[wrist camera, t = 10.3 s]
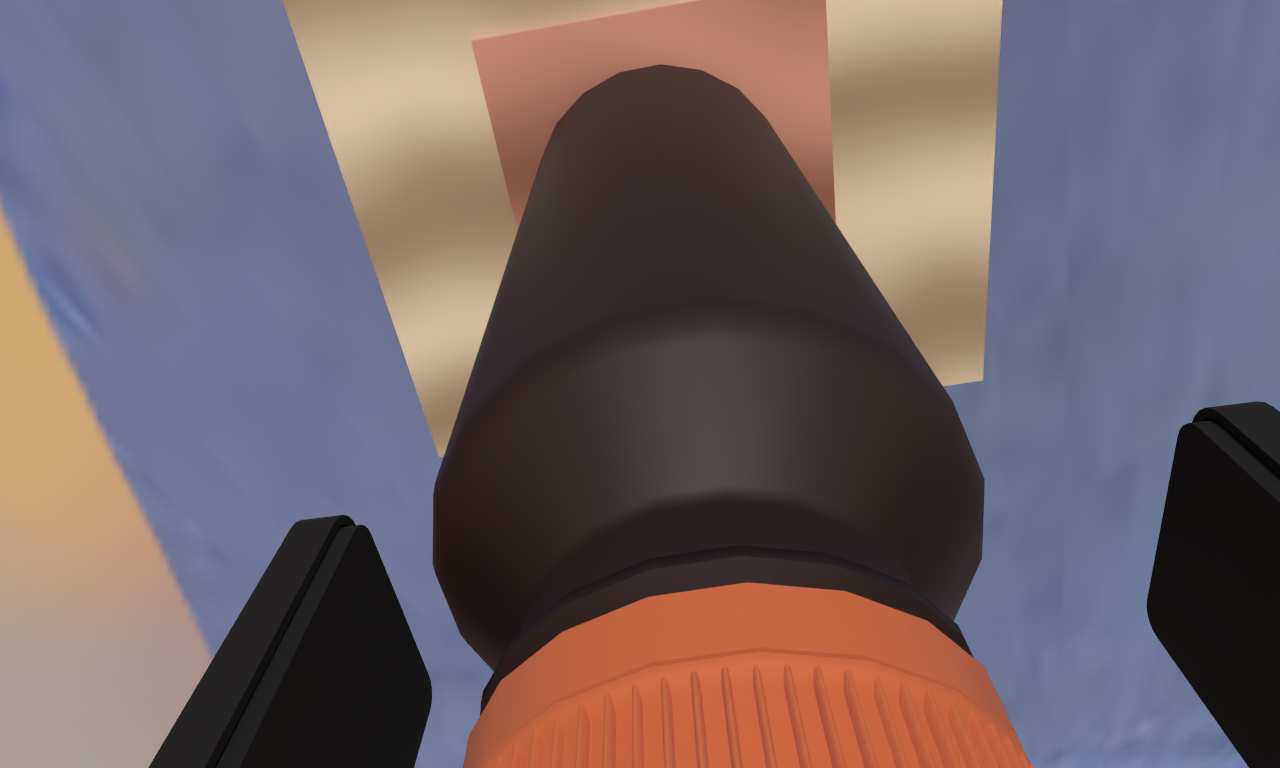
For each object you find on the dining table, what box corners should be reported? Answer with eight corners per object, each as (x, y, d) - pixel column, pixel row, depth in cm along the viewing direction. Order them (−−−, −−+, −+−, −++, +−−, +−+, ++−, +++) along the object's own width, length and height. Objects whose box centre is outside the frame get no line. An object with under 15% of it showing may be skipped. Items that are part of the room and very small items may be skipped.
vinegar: (688, 3, 21) (1030, 530, 3) (829, 211, 23) (1412, 1094, 6) (487, 168, 23) (38, 1037, 5) (638, 342, 25) (667, 1285, 8)
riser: (933, 314, 31) (986, 384, 26) (465, 383, 32) (437, 462, 27) (941, -202, 23) (1019, -230, 18) (321, -83, 24) (249, -82, 20)
